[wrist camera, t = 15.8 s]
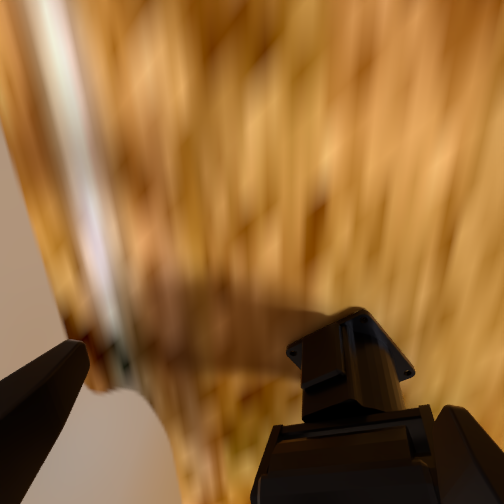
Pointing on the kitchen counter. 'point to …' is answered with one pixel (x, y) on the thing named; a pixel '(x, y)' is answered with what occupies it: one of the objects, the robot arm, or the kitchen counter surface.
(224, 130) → the kitchen counter surface
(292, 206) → the kitchen counter surface
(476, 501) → the robot arm
